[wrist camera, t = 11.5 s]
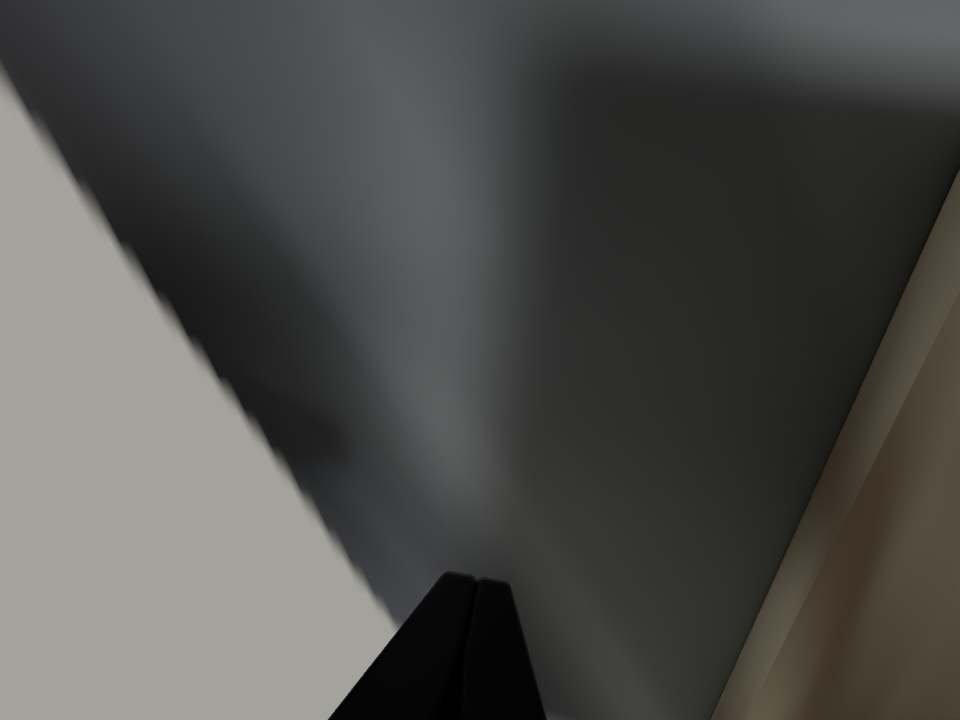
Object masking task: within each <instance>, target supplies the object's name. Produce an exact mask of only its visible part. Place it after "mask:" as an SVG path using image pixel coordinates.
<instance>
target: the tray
mask: <svg viewBox="0 0 960 720" xmlns="http://www.w3.org/2000/svg"><path fill="white" fill-rule="evenodd" d="M710 720H960V169H959V171H958V173H957V175H956V178H955V180H954V182H953V184H952V186H951V189H950V191H949V193H948V195H947V198H946V200H945V202H944V204H943V206H942V209H941V211H940V213H939V215H938V217H937V220H936V222H935V224H934V226H933V228H932V231H931V233H930V235H929V237H928V240H927V242H926V244H925V246H924V248H923V251H922V253H921V255H920V257H919V259H918V262H917V264H916V266H915V268H914V270H913V273H912V275H911V277H910V279H909V282H908V284H907V286H906V288H905V290H904V293H903V295H902V297H901V299H900V301H899V304H898V306H897V308H896V310H895V312H894V315H893V317H892V319H891V321H890V324H889V326H888V328H887V330H886V332H885V335H884V337H883V339H882V341H881V343H880V346H879V348H878V350H877V352H876V354H875V357H874V359H873V361H872V363H871V366H870V368H869V370H868V372H867V374H866V377H865V379H864V381H863V383H862V385H861V388H860V390H859V392H858V394H857V396H856V399H855V401H854V403H853V405H852V408H851V410H850V412H849V414H848V416H847V419H846V421H845V423H844V425H843V427H842V430H841V432H840V434H839V436H838V438H837V441H836V443H835V445H834V447H833V450H832V452H831V454H830V456H829V458H828V461H827V463H826V465H825V467H824V469H823V472H822V474H821V476H820V478H819V480H818V483H817V485H816V487H815V489H814V492H813V494H812V496H811V498H810V500H809V503H808V505H807V507H806V509H805V511H804V514H803V516H802V518H801V520H800V522H799V525H798V527H797V529H796V531H795V534H794V536H793V538H792V540H791V542H790V545H789V547H788V549H787V551H786V553H785V556H784V558H783V560H782V562H781V564H780V567H779V569H778V571H777V573H776V576H775V578H774V580H773V582H772V584H771V587H770V589H769V591H768V593H767V595H766V598H765V600H764V602H763V604H762V606H761V609H760V611H759V613H758V615H757V618H756V620H755V622H754V624H753V626H752V629H751V631H750V633H749V635H748V637H747V640H746V642H745V644H744V646H743V648H742V651H741V653H740V655H739V657H738V660H737V662H736V664H735V666H734V668H733V671H732V673H731V675H730V677H729V679H728V682H727V684H726V686H725V688H724V690H723V693H722V695H721V697H720V699H719V702H718V704H717V706H716V708H715V710H714V713H713V715H712V717H711V719H710Z"/></svg>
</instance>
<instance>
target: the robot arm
mask: <svg viewBox="0 0 960 720" xmlns="http://www.w3.org/2000/svg"><path fill="white" fill-rule="evenodd" d="M476 582H477V583H476ZM328 720H547V717H546V713H545V709H544V706H543V702H542V698H541V695H540V691H539V687H538V684H537V680H536V676H535V673H534V669H533V665H532V662H531V658H530V654H529V651H528V647H527V643H526V640H525V636H524V632H523V629H522V625H521V621H520V618H519V614H518V610H517V607H516V603H515V599H514V596H513V592H512V589H511V586H510V584H509V583H508V582H506V581H503V580H497V579H492V578H486V577H481V578H479V579H478V580H476V578H475V577H474V576H473V575H470V574H464V573H458V572H453V571H447V572H445V573H444V574H443V575H442V576H441V577H440V578H439V579H438V581H437V582H436V583H435V584H434V586H433V587H432V588H431V589H430V591H429V592H428V593H427V595H426V596H425V597H424V598H423V600H422V601H421V602H420V603H419V605H418V606H417V607H416V608H415V610H414V611H413V612H412V614H411V615H410V616H409V617H408V619H407V620H406V621H405V622H404V624H403V625H402V626H401V628H400V629H399V630H398V631H397V633H396V634H395V635H394V636H393V638H392V639H391V640H390V641H389V643H388V644H387V645H386V647H385V648H384V649H383V650H382V652H381V653H380V654H379V655H378V657H377V658H376V659H375V660H374V662H373V663H372V664H371V666H370V667H369V668H368V669H367V671H366V672H365V673H364V675H363V676H362V677H361V678H360V679H359V681H358V682H357V683H356V685H355V686H354V687H353V688H352V690H351V691H350V692H349V694H348V695H347V696H346V697H345V699H344V700H343V701H342V702H341V704H340V705H339V706H338V707H337V709H336V710H335V712H334V713H333V714H332V715H331V716H330V718H329V719H328Z"/></svg>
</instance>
